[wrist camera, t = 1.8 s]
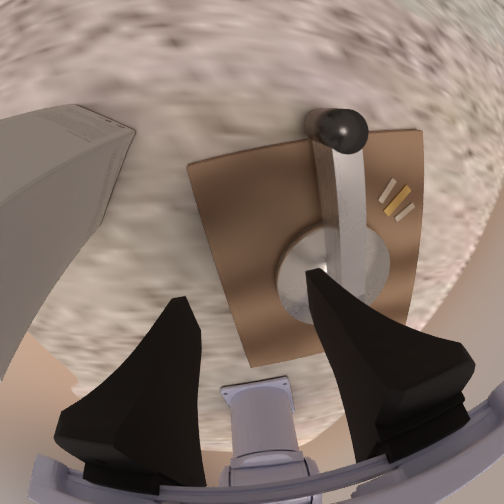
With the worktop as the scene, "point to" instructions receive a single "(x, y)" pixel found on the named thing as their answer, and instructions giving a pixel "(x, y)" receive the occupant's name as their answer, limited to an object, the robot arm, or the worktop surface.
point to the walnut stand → (295, 221)
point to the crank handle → (335, 219)
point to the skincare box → (49, 204)
